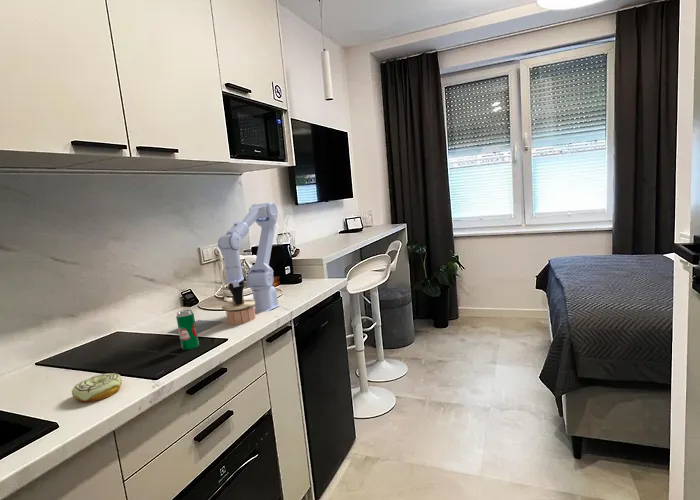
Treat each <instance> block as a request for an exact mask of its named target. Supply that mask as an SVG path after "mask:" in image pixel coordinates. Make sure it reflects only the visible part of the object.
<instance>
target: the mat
mask: <svg viewBox="0 0 700 500" xmlns="http://www.w3.org/2000/svg"><path fill="white" fill-rule="evenodd" d="M223 323H225V321H222V320H207V319H206V320H202V319H197V320H195V324H196V330H197V335H199V333H200V334H201V333H202V332H204V331H207V330H208V329H210V328H213V327H215V326H219V325H221V324H223ZM167 334H178V335H179V329H178V327H177V328H175V329H173V330H171V331H168V332H167Z"/></svg>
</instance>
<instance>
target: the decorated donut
mask: <svg viewBox="0 0 700 500" xmlns="http://www.w3.org/2000/svg"><path fill="white" fill-rule="evenodd" d="M122 381H123V380H122V375H120V374H118V373H115V372H113V373H101V374H96V375H94V376H91V377H89V378H86V379H84V380H82V381H80V382H78V383H77V384H75V385H74V387H73V388H72V389H71V395H72V397H73V398H74V399H75V400H76V401H78V402H81V403H85V402H86V403H87V402H88V403H89V402H91V403H93V402H96V401H100V400H104V399H107V398H110V397H112V396H113V395H114V394H116V393H117V392H118V391H120V388H121V385H122Z"/></svg>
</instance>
